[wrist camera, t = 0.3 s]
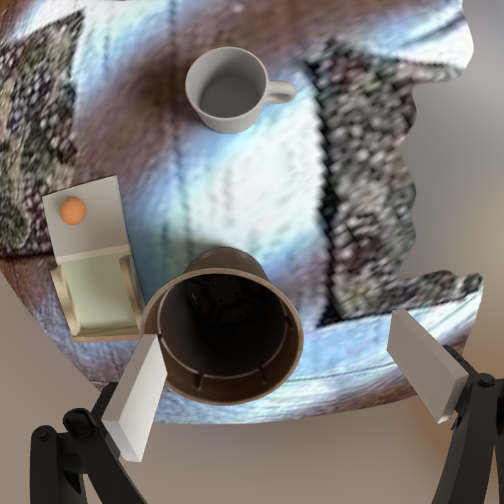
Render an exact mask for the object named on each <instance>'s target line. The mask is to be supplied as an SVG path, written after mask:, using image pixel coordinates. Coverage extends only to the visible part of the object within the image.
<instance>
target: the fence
mask: <svg viewBox="0 0 504 504" xmlns="http://www.w3.org/2000/svg"><path fill="white" fill-rule="evenodd" d="M132 256H133V255H132ZM119 263H120V267H121V271H122V275H123V279H124V282H125V286H126V289H127V293H128V296H129V300H130V303H131V306H132V310H133V313H134V316H135V319H136V322H137V325H138V326H125V327H111V328H94V329H83V327H82V324H81V322H80V319H79V316H78V314H77V311H76V308H75V305H74V302H73V299H72V296H71V293H70V290H69V287H68V284H67V280H66V277H65V274H64V270H63V267H62V266H58V267H56V268H54V269H53V270H51V271H50V272H51V275H52V279H53V282H54V285H55V288H56V291H57V294H58V297H59V300H60V303H61V306H62V309H63V312H64V314H65V317H66V320H67V322H68V325H69V328H70V330H71V333H72V335H73V337H72V340H73V342H74V343H83V342H111V341H130V340H140V338H139V328H140V321H141V318H142V315H143V312H144V309H145V307H146V305H145V301H144V298H143V300H142V297H143V294H141V293H142V290H141V293H140V289H141V287H139V286H140V285H138V283H139V281H138V282H137V278H136V274H137V271H136V274H135V270H134V266H135V263H134V266H133V262H132V258H131V254H128V255H124V256H123V257H122V258H120V259H119ZM137 277H138V275H137ZM139 284H140V283H139ZM139 288H140V289H139ZM141 295H142V296H141ZM143 301H144V302H143Z"/></svg>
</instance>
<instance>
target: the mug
mask: <svg viewBox="0 0 504 504" xmlns="http://www.w3.org/2000/svg"><path fill="white" fill-rule="evenodd" d="M185 91H186V95H187V98H188V100H189V102H190V104H191V105H192V107H193V108H194V109H195V111H196V112H197V113H198V114H199V116H200V117H201V119H202V120H203V122H204V123H205V124H206V125H207V126H208V127H210V128H211V129H213V130H214V131H217V132H220V133H224V134H235V133H239V132H242V131H244V130H246V129H248V128H249V127H251V126H252V125H253V124H254V123H255V122H256V120H257V119H258V118H259V116H260V113H261V110H262V108H263V106H264V104H280V103H287V102H290V101H291V100H293V99H294V98H295V96H296V91H297V90H296V86H295V85H294V84H293V83H291V82H288V81H275V80H268V75H267V71H266V69H265V67H264V65H263V64H262V62H261V61H260V60H259V59H258V58H257V57H256V56H255V55H253V54H252V53H250V52H248V51H246V50H244V49H241V48H236V47H220V48H216V49H213V50H210V51H208V52H206V53H204V54H203V55H201V56H200V57H199V58H197V59H196V61H195V62H194V63H193V64H192V65H191V67H190V69H189V71H188V73H187V76H186V80H185Z"/></svg>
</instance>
